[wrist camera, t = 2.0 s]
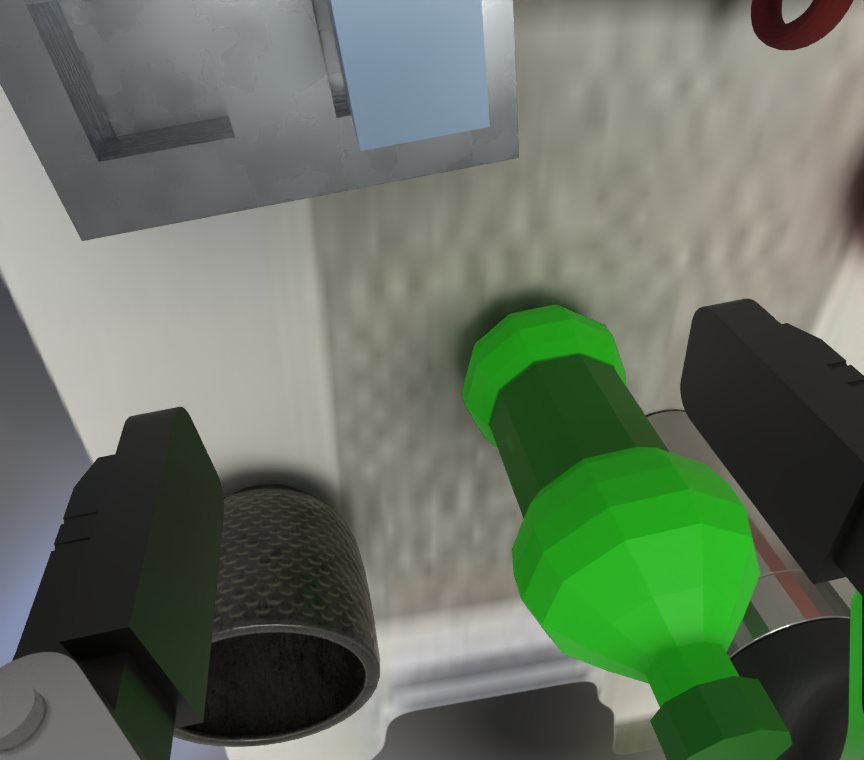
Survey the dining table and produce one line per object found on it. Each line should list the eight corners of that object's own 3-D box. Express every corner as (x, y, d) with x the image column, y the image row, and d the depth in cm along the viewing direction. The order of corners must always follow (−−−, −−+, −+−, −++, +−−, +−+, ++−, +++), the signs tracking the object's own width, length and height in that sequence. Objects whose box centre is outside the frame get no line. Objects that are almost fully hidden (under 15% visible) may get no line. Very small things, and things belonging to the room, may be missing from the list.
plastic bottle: (498, 252, 37) (732, 667, 17) (632, 312, 41) (939, 697, 21) (418, 381, 41) (530, 819, 22) (546, 422, 46) (733, 819, 26)
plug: (424, -52, 27) (479, -28, 19) (437, 63, 29) (489, 126, 22) (319, -34, 26) (330, -2, 19) (342, 81, 29) (360, 151, 21)
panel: (478, -180, 25) (506, -190, 22) (497, 131, 32) (519, 158, 29) (-42, -97, 24) (-94, -95, 20) (103, 205, 31) (81, 242, 28)
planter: (342, 580, 53) (354, 742, 43) (163, 575, 49) (130, 754, 39) (381, 460, 45) (407, 624, 35) (173, 443, 41) (134, 623, 31)
